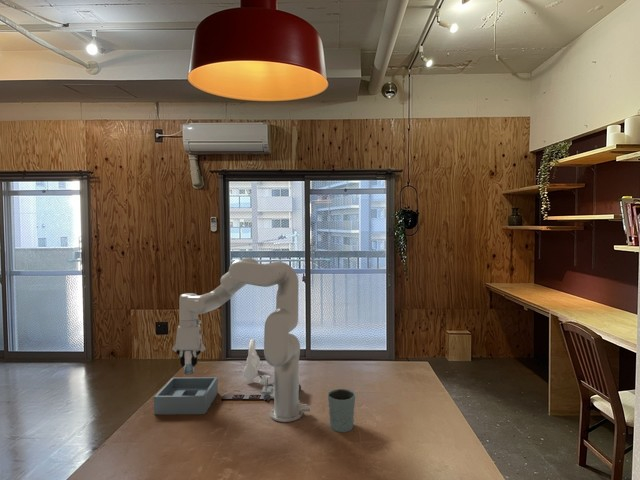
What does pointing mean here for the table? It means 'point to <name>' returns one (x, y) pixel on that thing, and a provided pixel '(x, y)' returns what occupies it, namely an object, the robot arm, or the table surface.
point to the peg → (188, 362)
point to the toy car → (270, 388)
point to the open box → (186, 395)
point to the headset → (251, 363)
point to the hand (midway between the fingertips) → (188, 365)
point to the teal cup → (341, 409)
